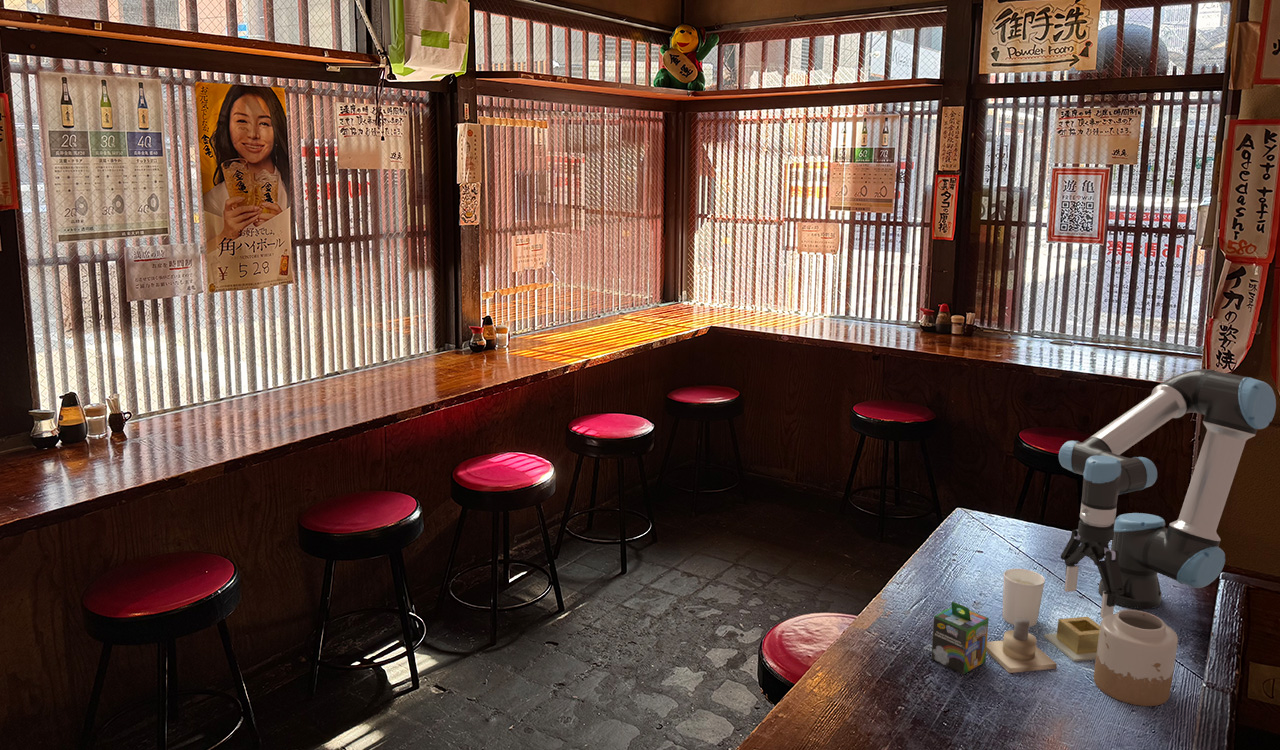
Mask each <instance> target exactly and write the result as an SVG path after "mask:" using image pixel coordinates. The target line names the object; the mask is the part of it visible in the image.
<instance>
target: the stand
mask: <svg viewBox="0 0 1280 750" xmlns="http://www.w3.org/2000/svg"><path fill="white" fill-rule="evenodd" d="M1029 630H1030V627H1029V621H1028V620H1027V619H1025V618H1016V619H1015V623H1014V625H1013V629H1010V630H1006V631H1005V632H1004V633H1003V639H1002V640H994V641H987V648H986V653H987V654H989V655H990V657H992V659H994V661H996V662H997V663H998V664H999V665H1000V666H1001V667H1003V669H1004V670H1005V671H1006V672H1008V674H1012V673H1022V672H1034V671H1035V672H1036V671H1042V670H1043V671H1044V670H1045V671H1046V670H1050V669H1051V670H1053V669H1055V670H1056V669H1057V664H1058V663H1056V661H1054V660H1053V659H1052V658H1051V657H1049V656H1048V655H1047V654H1046V653H1045V652H1044V651H1043V650H1041V649H1040V648H1039V647H1038V646H1037V642H1038V641H1037V638H1036V636H1035V635H1033V634H1031V633H1029Z"/></svg>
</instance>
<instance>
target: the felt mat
mask: <svg viewBox="0 0 1280 750" xmlns="http://www.w3.org/2000/svg"><path fill="white" fill-rule="evenodd" d="M1056 636H1057V632H1055V633H1045V634H1044V635H1043V637H1044V638H1045V639H1046V640H1047V641H1049V643H1051V645H1053V646H1054V647H1056V648H1057V649H1058V650H1059V651H1061V652H1062V653H1063V654H1064V655H1065V656H1067V657H1068V658H1069V659H1070V660H1071V661H1073V662H1074V663H1075V662H1084V661H1096V654H1097V652H1096V653H1085V654H1076V653H1074V652H1073V651H1072V650H1071V649H1070V648H1068V647H1067V646H1066V645H1065V644H1063V643H1062V642H1061V641H1060V640H1059V639H1057V638H1056Z"/></svg>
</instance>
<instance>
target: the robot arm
mask: <svg viewBox="0 0 1280 750" xmlns="http://www.w3.org/2000/svg"><path fill="white" fill-rule="evenodd" d="M1276 401H1277V399H1276V395H1275V392H1274V389H1273V388H1272V387H1271V385H1270V384H1268V383H1267V382H1265V381H1262V380H1259V379H1256V378H1253V377H1250V376H1249V377H1248V376H1243V375H1238V374H1233V373H1229V372H1222V371H1218V370H1214V369H1208V368H1207V369H1206V368H1204V369H1203V368H1201V369H1200V368H1199V369H1193V370H1189V371H1186V372H1182V373H1180V374H1177V375H1175V376H1172V377H1170V378H1168V379H1166V380H1165V381H1163V382H1161V383H1159V384H1158V385H1156V386H1155V387H1154V388H1152V390H1151V394H1150V395H1149V396H1148V397H1146V398H1144V400H1142V401H1140V402H1139V403H1138V404H1136V405H1135V406H1133V407H1132V408H1130V409H1129V410H1127V411H1126V412H1124V413H1122V415H1120V416H1119V417H1117V418H1116V419H1114V420H1113V421H1111V422H1109V424H1107V425H1105V426H1104V427H1103V428H1101V429H1100V430H1098V431H1097V432H1096V433H1095V432H1094V434H1093V435H1091V436H1090V437H1088V438H1087V439H1085V440H1084V441H1083V442H1080V441H1079V440H1067V441H1066V442H1064V444H1062V446H1061V447H1060V449H1059V453H1058V461H1059V464H1060V465H1061V467H1062V468H1064V469H1066V470H1067V471H1070V472H1072V473H1074V474H1078V475H1079V476H1080V475H1082V476H1083V480H1082V492H1081V494H1082V495H1081V501H1080V502H1081V503H1080V513H1079V518H1080V519H1079V520H1078V528H1077V529H1073V530H1071V535H1070V538H1069V541H1068V542H1067V544H1066V545H1065V547H1064V549H1063V551H1062V553H1061V555H1060V559H1061V560H1062V561H1064V564H1065V580H1064V581H1065V583H1064V592H1066V593H1068V592H1076V591H1077V588H1078V578H1079V577H1078V576H1079V562H1080V561H1081V560H1083V559H1084V558H1085V557H1087V558H1089V559H1090V560H1091V561H1093V564H1094V565H1095V566H1097V571H1098V573H1099V576H1100V578H1101V579H1100V580H1099V583H1098V590H1097V591H1098V593H1099V595H1100V596H1101V597H1102V599H1101V607H1100V616H1099V617H1100V618H1101V619H1103V618H1104V617H1106V616H1108V615H1111V614H1114V612H1115V611H1114V610H1115V609H1114V608H1115V606H1116V605H1117V606H1118V605H1119V606H1122V607H1127V608H1130V609H1135V610H1148V609H1155V608H1157V607H1159V606H1160V605H1161V604H1162V595H1163V594H1162V591H1161V586H1160V585H1161V584H1160V581H1159V577H1158V574H1160V575H1162V576H1165V577H1167V578H1169V579H1172V580H1175V581H1176V582H1177V583H1179V584H1181V585H1186V586H1189V587H1191V588H1194V589H1201V588H1205V587H1207V586H1209V585H1210V584H1211V583H1213V582H1215V581H1216V579H1217V578H1218V577H1219V576H1220V574H1221V572H1222V571H1223V568H1224V566H1225V563H1226V554H1225V552H1224V550H1223V549H1222V548H1221V547H1219V546H1220V544H1221V537H1220V536H1219V534H1218V533H1217V529H1218V526H1219V523H1220V520H1221V518H1222V515H1223V511H1224V509H1225V506H1226V502H1227V499H1228V497H1229V493H1230V491H1231V487H1232V485H1233V481H1234V478H1235V475H1236V472H1237V470H1238V466H1239V463H1240V459H1241V457H1242V455H1243V454H1242V453H1243V451H1244V448H1245V445H1246V442H1247V441H1248V440H1249V439H1251V438H1253V437H1255V436H1256V434H1257V431H1258V430H1263V429H1265V428H1267V427H1269V425H1270V423H1272V421H1273V418H1274V417H1275V413H1276V409H1277V402H1276ZM1190 413H1195V414H1201V415H1203V416H1204V417H1203V420H1202V423H1203V425H1204V427H1205V429H1206V433H1205V436H1204V439H1203V442H1202V445H1201V448H1200V450H1199V451H1200V452H1199V455H1198V458H1197V461H1196V464H1195V467H1194V470H1193V473H1192V475H1191V479H1190V483H1189V486H1188V488H1187V492H1186V494H1185V496H1184V501H1183V503H1182V507H1181V509H1180V511H1179V512H1180V513H1179V516H1178V518H1177V520H1174V521H1172V522H1170V523H1169V525H1168V527H1165V526H1166V521H1165V519H1164V518H1163V517H1161V516H1159V515H1156V514H1150V513H1143V512H1140V513H1139V512H1132V513H1128V512H1127V513H1123V514H1119V515H1118V516H1116V515H1117V507H1118V506H1117V504H1118V497H1119V495H1123V494H1127V493H1128V494H1129V493H1132V492H1137V491H1142V490H1144V489H1147V488H1149V487H1152V486H1153V485H1154V484H1155V483H1156V481H1157V479H1158V470H1157V466H1156V465H1155V463H1154V462H1153V461H1152V460H1151V459H1149V458H1147V457H1143V456H1138V457H1137V456H1133V457H1126V456H1123V455H1121V454H1123V453H1125V452H1126V451H1127V450H1129V449H1130V448H1131V447H1132V446H1134V445H1135V444H1138V442H1140V441H1141V440H1143V439H1144V438H1145V437H1147V436H1149V435H1150V434H1151V433H1153V432H1155V431H1156V430H1157V429H1159V428H1160V427H1162V426H1163V425H1165V424H1166V423H1167V422H1169V421H1170V420H1171V419H1180V418H1181V417H1183V416H1184V415H1186V414H1190ZM1110 542H1111V547H1110V546H1109V543H1110ZM1109 547H1110V548H1109ZM1103 559H1104V560H1103ZM1160 603H1161V604H1160Z"/></svg>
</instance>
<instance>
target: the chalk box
mask: <svg viewBox="0 0 1280 750" xmlns="http://www.w3.org/2000/svg"><path fill="white" fill-rule="evenodd" d="M950 603H951V604H950V605H951V607H949V608H945V609H944V610H942V611H941V612H939V613H938V614H935V615H934V616H933V626H932V627H933V629H932V642H931V643H932V644H931V645H932V646H931V660H933V661H936V662H937V663H939V664H941V665H943V666H945V667H948V668H949V669H951V670H953V671H955V672H957V673H959V674H961V675H965V674H967V673H968V672H971V671H972V670H974V669H976V668H977V667H979V666H981V665H983V664H984V663H986V658H987V652H986V648H987V642H988V632H989V619H990V618H989V617H987V616H985V615H983V614H980V613H978V612H975V611H972V610H970V608H969V607H967V606H964V605H963V604H960V603H957V602H955V601H951V602H950Z"/></svg>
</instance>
